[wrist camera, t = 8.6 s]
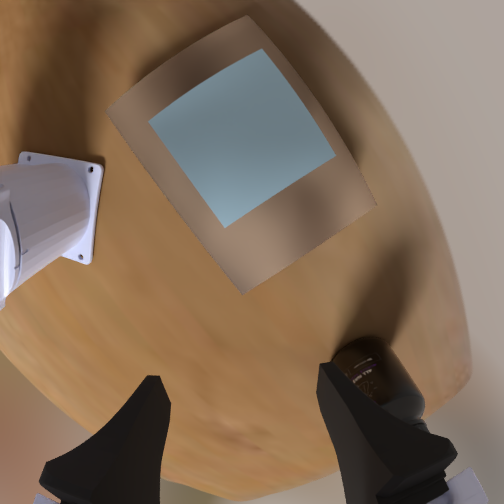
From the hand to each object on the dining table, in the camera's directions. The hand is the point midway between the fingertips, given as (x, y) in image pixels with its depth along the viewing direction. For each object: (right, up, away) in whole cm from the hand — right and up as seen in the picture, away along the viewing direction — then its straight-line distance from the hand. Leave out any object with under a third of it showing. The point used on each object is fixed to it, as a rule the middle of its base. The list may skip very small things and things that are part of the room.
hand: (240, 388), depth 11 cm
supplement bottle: (+11, -5, +14) cm, 18 cm away
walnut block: (0, +13, +6) cm, 14 cm away
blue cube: (0, +12, +3) cm, 12 cm away
